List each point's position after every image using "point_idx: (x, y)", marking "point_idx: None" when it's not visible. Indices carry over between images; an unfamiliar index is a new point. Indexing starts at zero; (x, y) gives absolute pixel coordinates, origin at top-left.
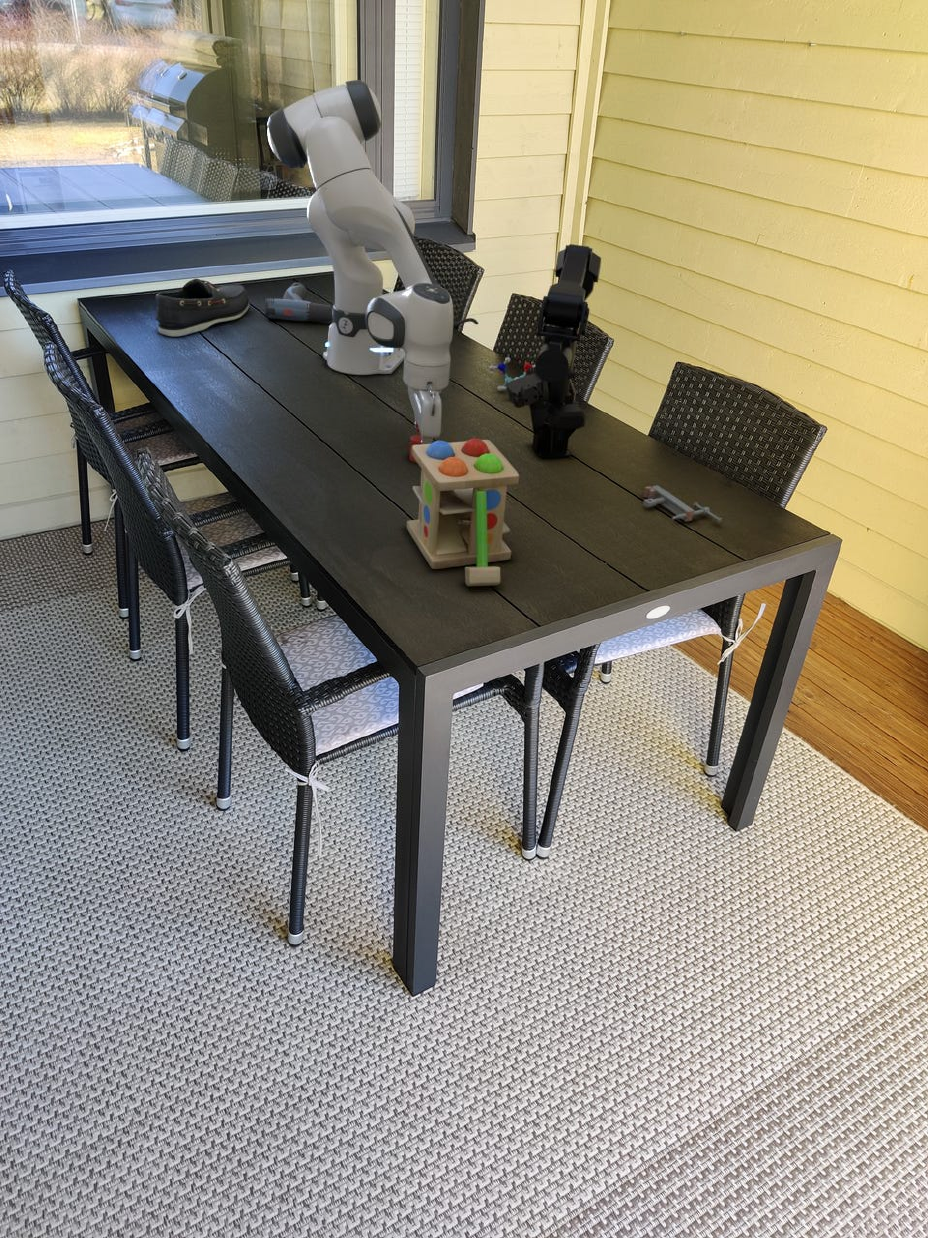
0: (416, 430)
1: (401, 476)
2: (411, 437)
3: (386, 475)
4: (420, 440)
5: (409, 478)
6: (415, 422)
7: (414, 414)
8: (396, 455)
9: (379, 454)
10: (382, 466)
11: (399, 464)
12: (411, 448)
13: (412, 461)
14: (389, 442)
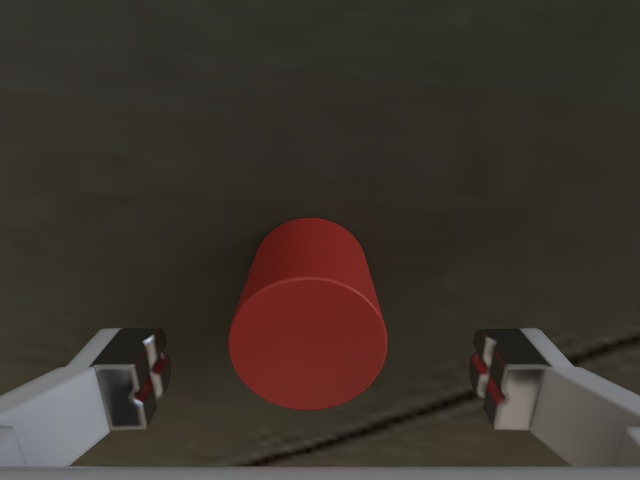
0: (477, 332)
1: (60, 137)
2: (325, 283)
3: (52, 33)
4: (265, 342)
5: (44, 183)
6: (531, 364)
7: (394, 475)
8: (363, 141)
9: (384, 19)
10: (190, 19)
11: (232, 145)
12: (281, 250)
13: (276, 228)
14: (565, 117)
